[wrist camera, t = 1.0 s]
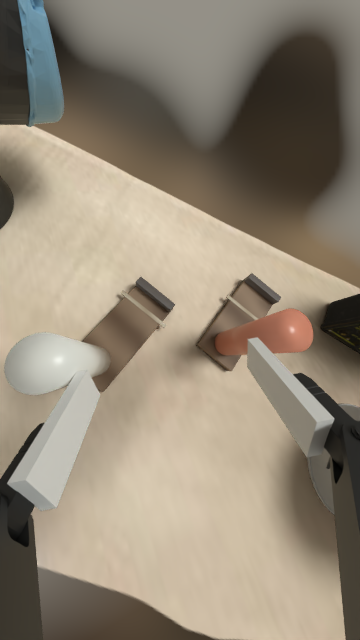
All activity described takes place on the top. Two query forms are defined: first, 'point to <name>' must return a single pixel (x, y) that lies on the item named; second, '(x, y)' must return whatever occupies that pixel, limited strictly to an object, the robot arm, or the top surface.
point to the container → (319, 463)
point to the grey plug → (51, 362)
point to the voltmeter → (344, 321)
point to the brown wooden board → (128, 327)
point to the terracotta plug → (269, 334)
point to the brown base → (238, 316)
